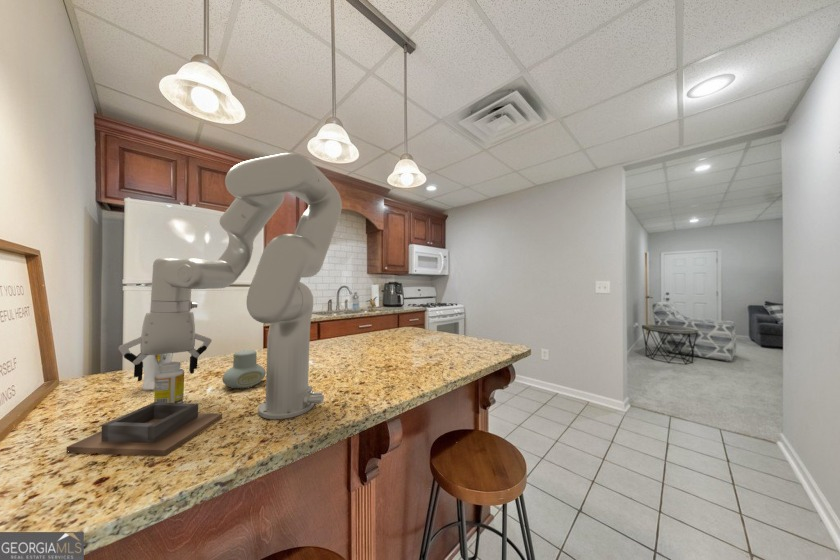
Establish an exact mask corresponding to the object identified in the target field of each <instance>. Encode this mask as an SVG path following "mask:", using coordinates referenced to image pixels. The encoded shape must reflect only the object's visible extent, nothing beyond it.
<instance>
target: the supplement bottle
mask: <svg viewBox="0 0 840 560" xmlns="http://www.w3.org/2000/svg"><path fill="white" fill-rule="evenodd" d="M181 367H182V366H181V361H171V362H167V363H163V364H160V365H159V372H158V373H156V374H155V384H154V390H153V391H154V392H153V393H154V396H153V403H154V402H158V403H184V398H185V395H184V393H185V370H184V368H181Z"/></svg>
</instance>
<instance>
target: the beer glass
mask: <svg viewBox="0 0 840 560" xmlns="http://www.w3.org/2000/svg"><path fill="white" fill-rule="evenodd" d="M173 356H174V353H169V354H159V355H148V356H147V357H146V358H145V359H144V360H142V362H143V377H144V378H143V383H142V387H141V390H142V391H145V390H147V392H148V391H149V390H150V391H154V384H155V374H156V373H158V372H159V365H160V364H163V363H167V362H173V361H172V360H173Z"/></svg>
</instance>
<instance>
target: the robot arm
mask: <svg viewBox="0 0 840 560" xmlns="http://www.w3.org/2000/svg"><path fill="white" fill-rule="evenodd" d="M224 179H225V180H224V184H225V187H226V190H227V191H228V193H229V194H230V195H232V196H233V197H234V200H233V201H232V202H231V204H230V205H229V207H228V208H226V210H225V211H224V213H222V215H221V216H220V217H219V226H221V228H222V229H223V230H224V231H225V232H226V234H227V235H228V244H227V247H226V249H225V250H224V252H223V253H222V254H221V256H220V257H219V258H218V259H217V260H215V259H205V258H204V259H203V258H195V257H194V258H193V257H192V258H191V257H190V258H184V259H183V258H182V259H181V258H170V257H159V258H156V259H155V260H154V261H153V264H152V276H151V290H150V292H151V293H150V308H149V309H150V310H149V312H147V313H146V314H145V316H144V319H143V323H142V328H141V336H139V337H137V338H134V339H132V340H130V341H128V342H125V343H123V344H121V345H119V346H118V348H117V349H118V351H119V352H120V353H121V355H122V356H123V358H124V359H126V360H127V361H129V362H131V363H132V364H133V367H134V369H133V378H137V382H141V381H143V374H144V369H143V362H142V360H144V359H145V358H146V357H147V356H148V355H159V354H169V353H173V354H177V353H186V352H188V353H189V354H190V355H191V356H190V357H189V369H188V370H189V373H190V374H195V370H197V369H198V361H199V359H198V358H199V357H200V355H202V354H203V353H204V352H205V351H207V349H208V348H209V345H210V344H211V343H212V341H213V340H212V338H210V337H209V336H208V337H207V336H204V335H203V334H202V335H201V334H198V333H196V324H195V323H196V322H195V313H194V311H191V310H193V309H198V306H199V305H198V302H194V301H192V290H207V289H213V290H214V289H224V288H227V287H229V286H231V285H233V284H234V283H235V282H236V281H237V279H238V278H240V276H241V275H242V274H243V272H244V271H245V270H246V268H247V267H248V266H249V263H250V262H251V258H252V255H253V249H254V241H255V239H256V237H257V236H258V235H259V234H260V232H261V231H262V230H263V228H264V227H265V226H266V225H267V223H268V222H269V221H270V219H271V218H272V217H273V216H274V214H275V213H276V212H277V210H278V209H279V208H280V207H281V206H282V205H283V202H284V200H285V197H286V193H290V194H292V195H293V196H295V197H297V198H298V199H300V200H301V201H303V202H305V203H306V204H307V208H306V210H305V211H304V212H303V213H302V215H301V216H300V218H299V220H298V223H297V227H296V229H295V232H294V234H292V233H283V234H279V235H276V237H273V238H272V239H271V240H270V241H269V242H268V243H267V245H266V246H265V248H264V249H263V251H262V253H261V256H260V258H259V261H258V264H257V267H256V269H255V272H254V274H253V278H252V281H251V283H250V285H249V288H248V291H247V295H246V308H247V309H246V310H247V312H248V314H249V316H250V317H251V318H253V320H255V321H256V322H259V323H260V324H267V325H269V328H268V332H267V338H266V339H267V345H266V369H265V372H266V374H265V376H266V377H265V383H266V384H265V400H264V401H263V402H261V403H260V404H259V405H258V408H257V414H258V415H259V417H262V418H263V419H268V420H285V419H291V418H294V417H297V416H298V417H299V416H302V415H304V414H305V413H307V412H309V411H310V410H311V409H313V407H314V406H315V404H323V403H324V401H325V395H323V392H321V391H317V392H316V391H315V392H314V391H313V386H312V385H309V374H310V373H309V367H310V341H311V339H310V336H311V334H310V333H311V323H312V322H311V321H312V315H313V311H314V296H313V293H312V290H311V289H310V288H309V287H308V286H307V284H305V283H304V282H302V281H301V279H302V278H310V277H311V278H312V277H314V276H316V275H317V274H318V273H319V272H320V270H321V269H322V267H323V265H324V261H325V259H326V255H327V253H328V251H329V248H330V245H331V242H332V240H333V236H334V234H335V231H336V228H337V226H338V222H339V221H340V217H341V214H342V210H343V209H342V208H343V204H342V203H343V202H342V198H341V194H340V193H339V191H338V189H337V188H336V187H335V186H334V184H333V183H332V182H331V181H330V180H329V178H327V177H326V175H325V174H324V173H323V172H322V171H321V170H320V169H319V168H318V167H317V166H316V165H315V164H314V163H313V162H312V161H311V160H310V159H308V158H307V157H306V156H304V155H302V154H299V153H296V152H285V153H279V154H273V155H268V156H263V157H258V158H252V159H249V160H245V161H242V162H240V163H237V164H235V165H233V167H231V168H230V169H229V170H228V172H227V173H226V176H225V178H224ZM196 340H197V341H200V342H202V345H200V346H199V347H198V348H197V349H196V348H195V344H196ZM137 345H140V347H139V348H140V353H138V354H137V355H135V354H134V353H132V352H131V351H130V349H131V348H133V347H135V346H137Z"/></svg>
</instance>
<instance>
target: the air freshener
mask: <svg viewBox="0 0 840 560" xmlns="http://www.w3.org/2000/svg"><path fill="white" fill-rule="evenodd" d="M232 363H233V364H232V367H230V368H229V369H227V370H226V371H225V372H224V373H223V375H222V382H223V384H224V385H225V386H226V387H228V388H231V389H236V388H237V389H239V388H240V390H242V389H241V388H246V389H249V388H248V387H250V388H252V387H254V386H256V385H257V384H259V383H260V382H262V381H263V380H264V378H266V377H265V376H266V369H265V367H263V366H262V365H261V364H258V363H257V351H256V350H254V349H245V350H243V349H242V350H239V351H236V352H234V353H233V362H232ZM251 386H252V387H251Z"/></svg>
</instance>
